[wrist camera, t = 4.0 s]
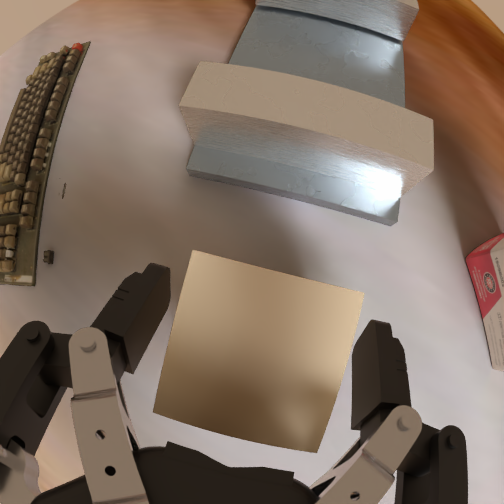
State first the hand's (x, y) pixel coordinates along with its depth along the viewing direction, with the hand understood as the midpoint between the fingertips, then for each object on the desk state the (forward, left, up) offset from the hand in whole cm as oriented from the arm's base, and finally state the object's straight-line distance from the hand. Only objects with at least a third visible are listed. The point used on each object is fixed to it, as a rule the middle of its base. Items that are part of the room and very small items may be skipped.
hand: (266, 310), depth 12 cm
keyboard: (+20, -7, -6) cm, 22 cm away
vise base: (0, -19, -5) cm, 19 cm away
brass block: (0, +1, -5) cm, 5 cm away
